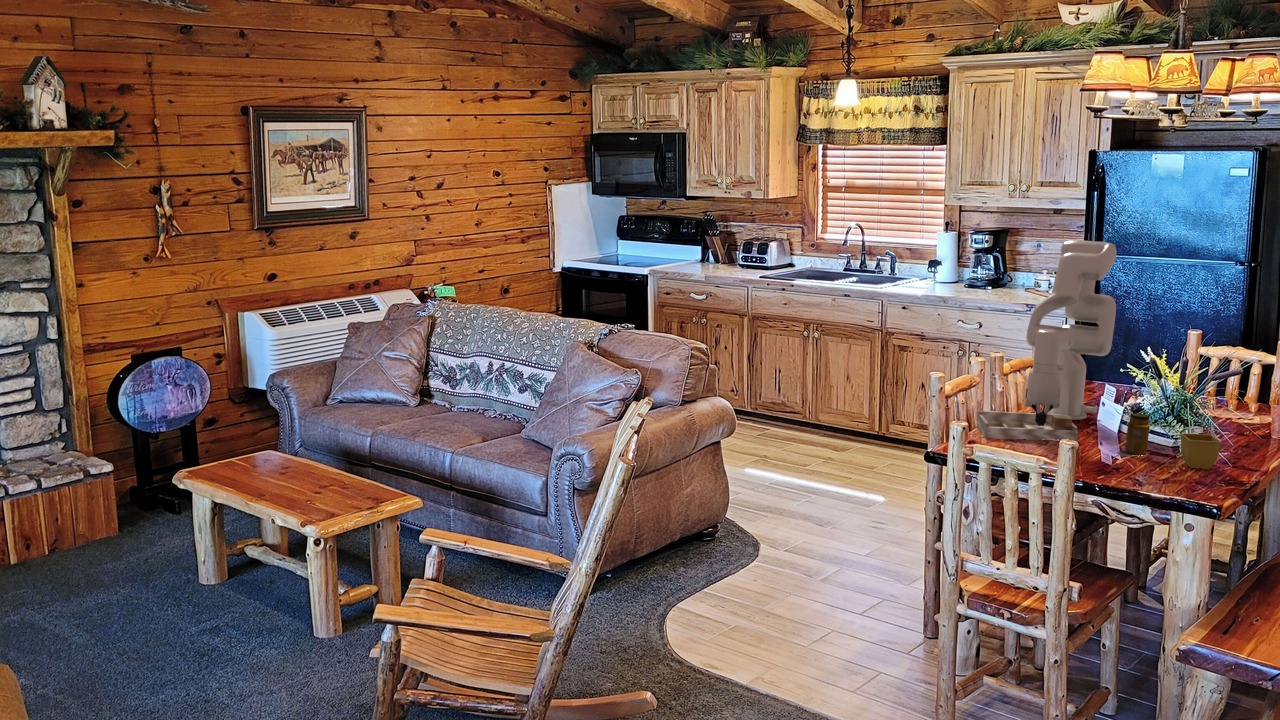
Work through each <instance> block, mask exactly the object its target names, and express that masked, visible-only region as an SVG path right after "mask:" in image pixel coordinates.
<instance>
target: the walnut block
mask: <svg viewBox="0 0 1280 720" xmlns="http://www.w3.org/2000/svg"><path fill="white" fill-rule="evenodd" d="M1072 423H1073V420H1072V419H1071V418H1070V417H1069V416H1068V415H1052V420H1051V427H1052V428H1053V430H1071V426H1072Z"/></svg>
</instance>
